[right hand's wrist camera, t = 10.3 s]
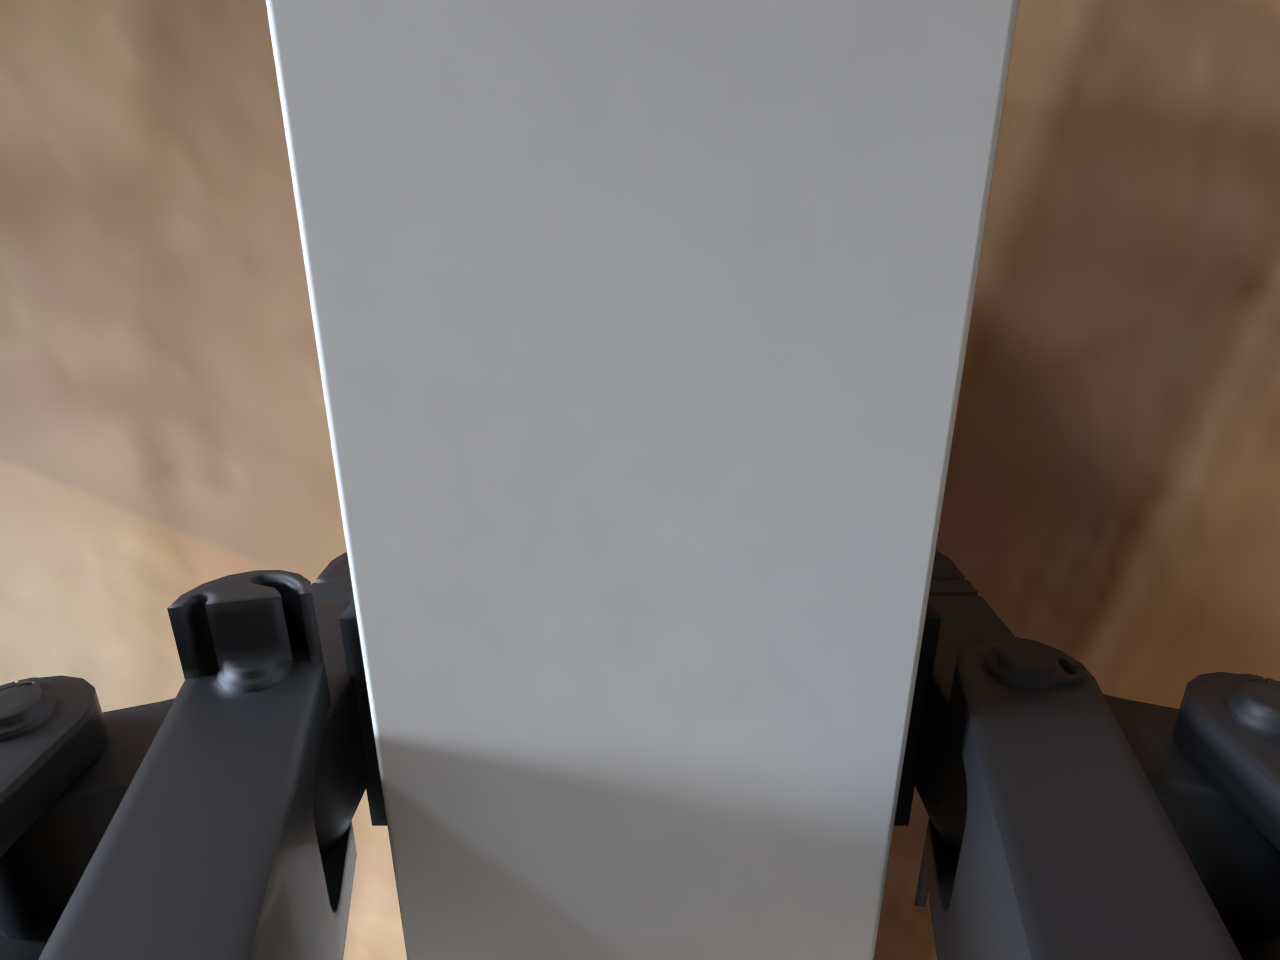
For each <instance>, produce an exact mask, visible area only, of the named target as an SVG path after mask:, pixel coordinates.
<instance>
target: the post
mask: <svg viewBox="0 0 1280 960" xmlns="http://www.w3.org/2000/svg"><path fill="white" fill-rule="evenodd" d="M266 5H267V12H268V19H269V25H270V32H271V39H272V46H273V53H274V59H275V66H276V73H277V80H278V86H279V93H280V100H281V107H282V114H283V120H284V127H285V134H286V141H287V147H288V154H289V161H290V168H291V175H292V181H293V188H294V195H295V202H296V208H297V215H298V222H299V229H300V236H301V242H302V249H303V256H304V263H305V269H306V276H307V283H308V290H309V297H310V303H311V310H312V317H313V324H314V330H315V337H316V344H317V351H318V358H319V364H320V371H321V378H322V385H323V391H324V398H325V405H326V412H327V418H328V425H329V432H330V439H331V446H332V452H333V459H334V466H335V473H336V479H337V486H338V493H339V500H340V507H341V513H342V520H343V527H344V534H345V540H346V547H347V554H348V561H349V568H350V574H351V581H352V588H353V595H354V601H355V608H356V615H357V622H358V629H359V635H360V642H361V649H362V656H363V662H364V669H365V676H366V683H367V690H368V696H369V703H370V710H371V717H372V723H373V730H374V737H375V744H376V751H377V757H378V764H379V771H380V778H381V784H382V791H383V798H384V805H385V811H386V818H387V825H388V832H389V839H390V845H391V852H392V859H393V866H394V872H395V879H396V886H397V893H398V900H399V906H400V913H401V920H402V927H403V933H404V940H405V947H406V954H407V960H873V958H874V952H875V945H876V939H877V932H878V925H879V919H880V912H881V906H882V899H883V893H884V886H885V879H886V873H887V866H888V860H889V853H890V847H891V840H892V833H893V827H894V820H895V814H896V807H897V801H898V794H899V787H900V781H901V774H902V768H903V761H904V755H905V748H906V741H907V735H908V728H909V722H910V715H911V708H912V702H913V695H914V689H915V682H916V676H917V669H918V662H919V656H920V649H921V643H922V636H923V630H924V623H925V616H926V610H927V603H928V597H929V590H930V584H931V577H932V570H933V564H934V557H935V551H936V544H937V538H938V531H939V524H940V518H941V511H942V505H943V498H944V491H945V485H946V478H947V472H948V465H949V459H950V452H951V445H952V439H953V432H954V426H955V419H956V413H957V406H958V399H959V393H960V386H961V380H962V373H963V367H964V360H965V353H966V347H967V340H968V334H969V327H970V320H971V314H972V307H973V301H974V294H975V288H976V281H977V274H978V268H979V261H980V255H981V248H982V242H983V235H984V228H985V222H986V215H987V209H988V202H989V196H990V189H991V182H992V176H993V169H994V163H995V156H996V150H997V143H998V136H999V130H1000V123H1001V117H1002V110H1003V103H1004V97H1005V90H1006V84H1007V77H1008V71H1009V64H1010V57H1011V51H1012V44H1013V38H1014V31H1015V25H1016V18H1017V11H1018V5H1019V0H266Z"/></svg>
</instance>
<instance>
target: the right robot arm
mask: <svg viewBox="0 0 1280 960" xmlns="http://www.w3.org/2000/svg"><path fill="white" fill-rule="evenodd" d="M167 609H168V613H169V617H170V621H171V625H172V629H173V633H174V637H175V641H176V645H177V649H178V653H179V657H180V661H181V665H182V669H183V673H184V677H185V681H184V683H183V685H182V687H181V689H180V691H179V693H178V695H177V696H176V698H174V699H170V700H166V701H162V702H156V703H151V704H146V705H140V706H135V707H130V708H124V709H119V710H114V711H108V712H103V713H102V711H101V708H100V704H99V701H98V698H97V694H96V691H95V688H94V687H93V686H92V685H91V684H89V683H88V682H87V681H85V680H84V679H82V678H75V677H68V676H53V677H43V678H29V679H24V680H19V681H18V683H15V682H12V683H8V684H5V685H2V686H0V960H343V955H344V948H345V940H346V932H347V924H348V917H349V909H350V901H351V894H352V886H353V878H354V871H355V863H356V855H357V853H356V846H355V839H354V833H353V827H352V821H351V820H352V818H353V816H354V813H355V811H356V809H357V807H358V805H359V802H360V800H361V798H362V796H363V794H364V791H365V789H366V790H367V796H368V802H369V809H370V815H371V821H372V826H388V825H387V818H386V811H385V805H384V798H383V791H382V784H381V778H380V771H379V764H378V757H377V751H376V744H375V737H374V730H373V723H372V717H371V710H370V703H369V696H368V690H367V683H366V676H365V669H364V662H363V656H362V649H361V642H360V635H359V629H358V622H357V615H356V608H355V601H354V595H353V588H352V581H351V574H350V568H349V561H348V554H347V552H346V553H344V554H342V555H341V556H339V557H337V558H336V559H334V560H332V561H331V562H330V563H329V565H328V566H327V567H326V568H325V569H324V571H323V572H322V573H321V574H320V575H319V577H318V578H317V579H316V583H313V584H312V585H311V582H310V581H308V580H307V579H306V578H304V577H303V576H301V575H300V574H297V573H292V572H287V571H282V570H260V571H251V572H245V573H239V574H233V575H228V576H225V577H222V578H219V579H216V580H213V581H210V582H207V583H204V584H202V585H200V586H198V587H196V588H194V589H192V590H190V591H189V592H187V593H185V594H183V595H181V596H180V597H179V598H178V599H177V600H176V601H175V602H174V603H173V604H172V605H171V606H170V607H169V608H167ZM915 786H916V789H917V791H918V793H919V795H920V797H921V800H922V802H923V804H924V806H925V808H926V810H927V813H928V815H929V821H928V827H927V833H926V839H925V844H924V850H923V856H922V862H921V868H920V873H919V879H918V885H917V891H916V898H915V905H916V906H921V907H925V905H926V899H927V894H928V892H929V900H930V907H931V915H932V923H933V930H934V938H935V946H936V953H937V960H1280V682H1279V681H1276V680H1273V679H1269V678H1267V680H1266V679H1264V678H1263V677H1261V676H1256V675H1251V674H1235V673H1225V672H1217V673H1210V674H1203V675H1198V676H1197V677H1196V678H1194V679H1193V680H1191V681H1190V682H1189V683H1187V686H1186V690H1185V693H1184V696H1183V700H1182V703H1181V706H1180V709H1175V708H1170V707H1164V706H1159V705H1154V704H1148V703H1143V702H1137V701H1132V700H1127V699H1121V698H1117V697H1113V696H1109V695H1105V694H1103V693H1102V691H1101V689H1100V688H1099V686H1098V684H1097V682H1096V680H1095V678H1094V677H1093V676H1092V675H1091V674H1090V673H1089V671H1088V670H1087V669H1086V668H1085V667H1084V666H1083V664H1081V663H1080V662H1078V661H1076V660H1075V659H1073V658H1072V657H1070V656H1069V655H1067V654H1065V653H1064V652H1062V651H1060V650H1057V649H1055V648H1052V647H1050V646H1047V645H1045V644H1042V643H1040V642H1037V641H1032V640H1027V639H1023V638H1018V637H1015V636H1014V635H1013V634H1012V633H1011V631H1010V630H1009V629H1008V628H1007V627H1006V625H1005V624H1004V623H1003V622H1002V621H1001V620H1000V618H999V617H998V616H997V615H996V614H995V612H994V611H993V610H992V609H991V608H990V606H989V605H988V604H987V603H986V602H985V600H984V599H983V598H982V597H981V596H978V595H977V591H976V590H975V588H974V587H973V586H972V585H971V584H970V582H969V581H968V580H965V576H964V575H963V574H962V573H961V572H960V570H959V569H958V568H957V567H956V566H955V564H954V563H953V562H952V561H951V560H950V558H948V557H946V556H945V555H943V554H941V553H940V552H938V551H935V557H934V564H933V570H932V577H931V584H930V590H929V597H928V603H927V610H926V616H925V623H924V630H923V636H922V643H921V649H920V656H919V662H918V669H917V676H916V682H915V689H914V695H913V702H912V708H911V715H910V722H909V728H908V735H907V741H906V748H905V755H904V761H903V768H902V774H901V781H900V787H899V794H898V801H897V807H896V814H895V820H894V826H908V824H909V818H910V812H911V805H912V799H913V793H914V787H915Z"/></svg>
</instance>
